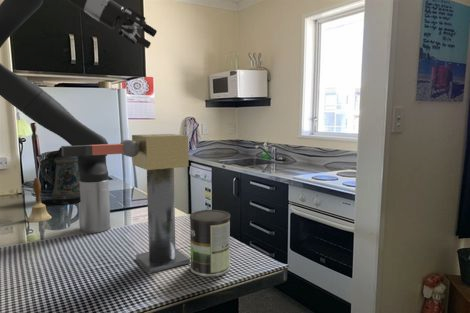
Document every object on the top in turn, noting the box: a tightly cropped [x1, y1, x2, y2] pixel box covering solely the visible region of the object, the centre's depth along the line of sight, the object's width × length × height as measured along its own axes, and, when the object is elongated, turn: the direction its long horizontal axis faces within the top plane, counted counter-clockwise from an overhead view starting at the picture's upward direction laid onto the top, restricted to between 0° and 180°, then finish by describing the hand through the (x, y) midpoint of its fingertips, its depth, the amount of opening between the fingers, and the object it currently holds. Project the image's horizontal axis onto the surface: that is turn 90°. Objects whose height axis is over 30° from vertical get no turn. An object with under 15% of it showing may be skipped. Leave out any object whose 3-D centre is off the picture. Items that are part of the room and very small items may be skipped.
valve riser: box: [131, 133, 191, 274], centre depth 93 cm, size 11×11×34 cm
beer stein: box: [39, 147, 81, 205], centre depth 162 cm, size 16×19×25 cm
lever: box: [60, 139, 140, 158], centre depth 84 cm, size 17×4×4 cm, turn 123°
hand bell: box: [26, 177, 52, 223], centre depth 133 cm, size 8×8×16 cm
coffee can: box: [189, 209, 231, 278], centre depth 90 cm, size 10×10×14 cm
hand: (152, 40), depth 111 cm, fingers open, 8 cm apart
